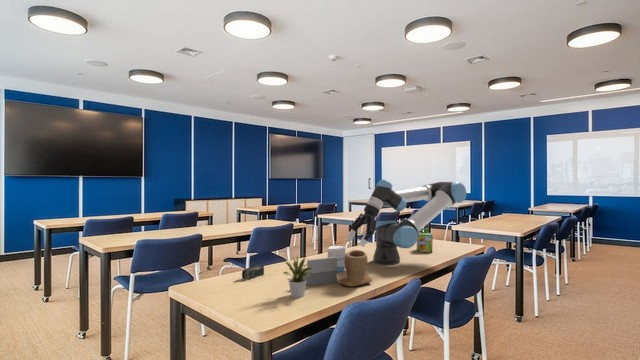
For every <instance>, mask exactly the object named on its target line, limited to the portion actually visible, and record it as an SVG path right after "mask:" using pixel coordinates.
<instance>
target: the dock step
mask: <svg viewBox="0 0 640 360" xmlns="http://www.w3.org/2000/svg"><path fill="white" fill-rule="evenodd" d="M311 260H312V261H311ZM309 261H310V262H309ZM308 262H309V263H308ZM307 263H308V264H307ZM306 264H307V265H306ZM306 264H305V265H306V266H305V267H304V265H303V266H302V267H304V268H305V269H306V268H315V269H310V270H307V271H306V272H312V273H313V274H311V273H307V274H310V276H309V275H305V276H304V277H303V278H304V279H306V285H307V287H313V286H318V285H319V286H320V284H321V285H327V284H334V283H338V272H337V257H329V258H328V257H322V258H321V257H320V258H313V259H306ZM302 269H303V268H302ZM303 270H304V269H303ZM301 271H302V270H301ZM306 272H305V274H306Z"/></svg>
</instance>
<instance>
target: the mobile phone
mask: <svg viewBox="0 0 640 360" xmlns="http://www.w3.org/2000/svg"><path fill="white" fill-rule="evenodd" d="M264 274H265V266H264V265H261V264H260V265H255V266H251V267H247V268H245V269H243V270H242V272H241V281H242V282H244V281H247V280H251V279H254V278H258V277H261V276H263V275H264Z"/></svg>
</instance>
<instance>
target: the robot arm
mask: <svg viewBox="0 0 640 360" xmlns="http://www.w3.org/2000/svg"><path fill="white" fill-rule="evenodd" d="M466 189H467V188H466V187H465V185H464V184H463V183H462V182H460V181H438V182H434V183H429V184H424V185H422V186H421V187H414V188H408V189H401V190H393V184H392V182H390V181H388V180H386V179H380V180H379V181H378V182H377V184H376V186H375V188H374V190H373V192H372V193H371V196H370V197H369V199H368V200H367V201H368V202H367V204H366V205H365V206H364V208H363V211H364V213H362V212H360V214H359V215H358V217H357V218H356V219H355V220H354V221H353V222H352V224H351V225H350V226H349V228H350V231H349V234H348V235H347V237H346V239H345V241H347V242H348V243H350V244H351V242H352V241H353V239H354V238H355V235H356V233H357V231H358V230H359V228H361V227H362V226H363V225H366V229H365V230H366V231H365V232H364V233H363V236H362V237H361V239H360V241H359V244H358V245H359V246H361V247H362V248H365V246H366V244H367V241H368V240H369V238H370V236H372V235H375V244H376V245H375V249H374V250H375V251H374V254H373V256H372V261H373V262H374V263H377V264H379V265H380V264H381V265H396V264H397V265H398V263H400V262H401V257H400V253H399V251H398V248H400V249H411V248H412V247H414V246H415V245H416V244H417V239H418V236H419V233H420V232H421V229H422V228H425V227H426V226H427V225H428V224H429V223H431V222H432V220H434V219H435V218H436V217H437V216H438V215H440V213H442V212H443V211H444V210H445V209H446V208H448V209H450V208H452V206H454V205H455V204H456V203H457V204H459V203H463V202H464V201H465V200H466V198H467V190H466ZM417 201H426V202H427V203H426V204H424V205H423V206H422V207H421V208H420V209H418V210H417V211H416V212H414V213H413V214H412V215H411V216H410V217H409V218H408V219H407V218H403V219H402V220H401V221H400V222H399V223H398V222H397V220H384V221H378V219H379V218H378V215H379V213H380V211H381V210H382V208H389V209H391V208H392V209H394V211H396V212H398V213H399V212H402V211H403V210H405V209H406V207H407V205H408V204H407V203H411V202H417ZM375 233H376V234H375Z"/></svg>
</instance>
